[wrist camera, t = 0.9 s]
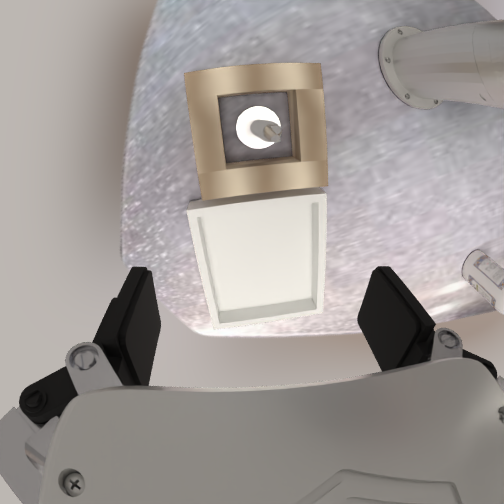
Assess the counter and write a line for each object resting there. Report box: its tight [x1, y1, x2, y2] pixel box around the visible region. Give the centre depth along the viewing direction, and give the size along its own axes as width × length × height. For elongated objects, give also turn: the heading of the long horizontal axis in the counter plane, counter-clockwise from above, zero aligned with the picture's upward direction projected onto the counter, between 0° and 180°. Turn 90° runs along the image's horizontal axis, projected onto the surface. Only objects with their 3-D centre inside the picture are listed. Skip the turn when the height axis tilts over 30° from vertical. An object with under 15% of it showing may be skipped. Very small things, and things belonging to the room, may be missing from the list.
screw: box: [236, 106, 282, 149], centre depth 24 cm, size 13×5×5 cm
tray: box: [187, 187, 327, 329], centre depth 36 cm, size 16×18×4 cm
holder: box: [184, 63, 328, 201], centre depth 28 cm, size 14×14×4 cm
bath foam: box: [462, 250, 504, 314], centre depth 35 cm, size 7×7×20 cm
